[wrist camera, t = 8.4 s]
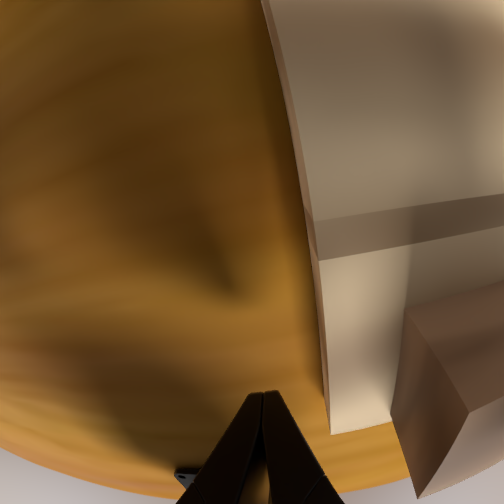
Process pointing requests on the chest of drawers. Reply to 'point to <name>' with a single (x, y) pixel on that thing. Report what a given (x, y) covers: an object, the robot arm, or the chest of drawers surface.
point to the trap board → (391, 171)
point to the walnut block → (451, 388)
